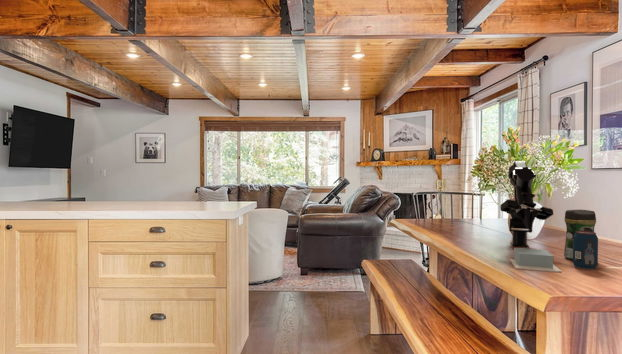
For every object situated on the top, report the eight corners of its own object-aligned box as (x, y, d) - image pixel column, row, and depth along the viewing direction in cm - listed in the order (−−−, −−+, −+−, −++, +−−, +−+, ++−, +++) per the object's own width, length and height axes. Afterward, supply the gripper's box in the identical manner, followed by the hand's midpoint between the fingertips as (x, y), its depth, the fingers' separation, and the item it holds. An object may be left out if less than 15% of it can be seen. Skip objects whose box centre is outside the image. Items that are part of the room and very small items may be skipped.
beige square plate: (510, 260, 144) (510, 259, 144) (551, 263, 140) (551, 262, 140) (516, 268, 131) (516, 267, 131) (561, 272, 127) (561, 271, 127)
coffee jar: (586, 257, 151) (586, 208, 151) (600, 262, 144) (601, 210, 143) (559, 257, 152) (560, 208, 152) (572, 261, 144) (573, 210, 144)
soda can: (582, 264, 139) (583, 230, 139) (602, 269, 132) (603, 233, 132) (567, 265, 137) (568, 231, 137) (587, 270, 130) (588, 233, 130)
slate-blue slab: (514, 247, 146) (519, 253, 134) (545, 249, 142) (553, 255, 131) (513, 258, 146) (519, 265, 134) (544, 260, 142) (553, 268, 131)
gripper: (534, 207, 169) (539, 241, 160) (491, 198, 168) (494, 232, 160) (551, 195, 159) (557, 230, 151) (506, 185, 159) (510, 220, 150)
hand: (529, 228), depth 153 cm, fingers closed
